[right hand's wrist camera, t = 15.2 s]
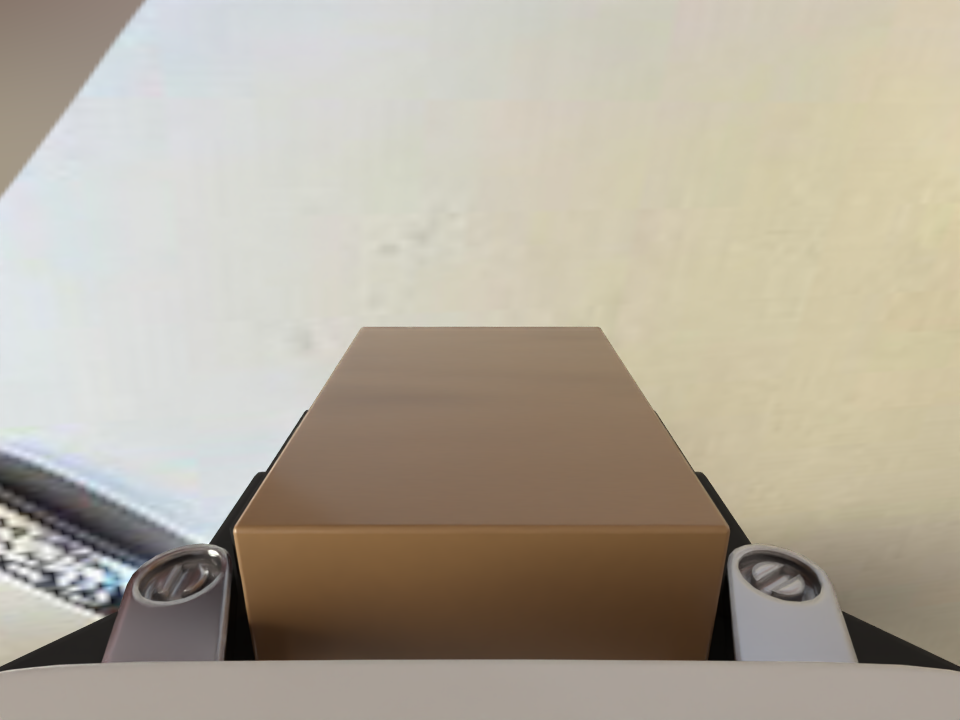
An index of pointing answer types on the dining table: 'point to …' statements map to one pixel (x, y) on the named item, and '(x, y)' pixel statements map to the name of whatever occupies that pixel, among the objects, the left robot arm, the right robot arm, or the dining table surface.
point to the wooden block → (481, 510)
